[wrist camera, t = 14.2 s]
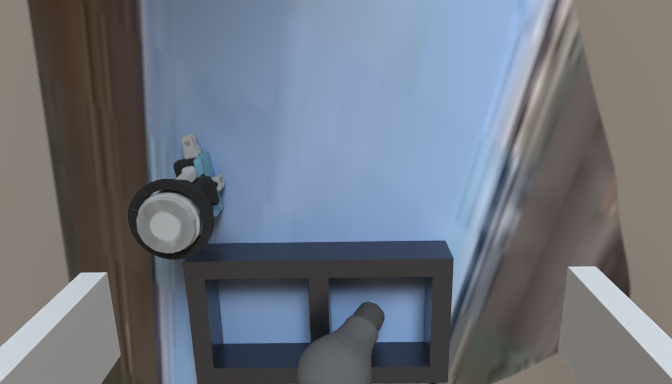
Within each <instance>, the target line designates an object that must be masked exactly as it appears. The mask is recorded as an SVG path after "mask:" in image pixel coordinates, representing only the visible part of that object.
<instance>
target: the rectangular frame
mask: <svg viewBox="0 0 672 384" xmlns="http://www.w3.org/2000/svg"><path fill="white" fill-rule="evenodd" d="M453 259H454V258H453V256H452V254H451V252H450V250H449V248H448V246H447V243H446V241H379V242H304V243H228V244H206V245H205V246H204V247H203V248H202V249H201V250H200V251H199V252H198V253H196V254H194V255H192V256H190V257H188V258H186V259H185V260H184V261H183V265H184V273H185V282H186V290H187V299H188V307H189V316H190V324H191V333H192V341H193V350H194V358H195V367H196V376H197V384H291V383H298V381H297V367H298V363H299V360H300V358H301V355H302V354H303V352H304V351H305V349H306V348H307V347H308V346H309V345H310V344H311V343H313V342H314V341H315V340H317V339H319V338H321V337H323V336H326V335H328V334H331V302H330V278H375V277H426V280H425V311H424V342H380V343H375V344H374V347H373V350H372V356H371V383H431V382H448V362H449V342H450V321H451V301H452V280H453ZM290 278H308V280H309V305H310V329H311V343H268V344H223V334H222V324H221V314H220V303H219V293H218V283H217V279H290Z"/></svg>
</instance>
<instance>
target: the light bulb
mask: <svg viewBox="0 0 672 384" xmlns="http://www.w3.org/2000/svg"><path fill="white" fill-rule="evenodd" d="M384 319H385V316H384V313H383V311H382V309H381V308H380V307H379V306H378V305H376V304H374V303H370V302H365V303H362V304H361V305H360V307H359V308H358V309H357V310H356V312H355V313H354V314H353V316H350V317H349V318H348V319H347V320H346V321H345V323H344V324H343V325H342V326H341V327H340V328H339V329H338V330H336V331H334V332H333V333H331V334H328V335H326V336H323V337H321V338H319V339H317V340H315V341H314V342H313V343H311V344H310V345H309V346H308V347H307V348H306V349H305V351H304V352H303V354H302V355H301V358H300V360H299V363H298V367H297V381H298V384H370V383H371V356H372V350H373V347H374V344H375V342H376V340H377V338H378V331H379V330H380V327H381V326H382V323H383V321H384Z"/></svg>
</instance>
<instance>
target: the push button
mask: <svg viewBox="0 0 672 384" xmlns="http://www.w3.org/2000/svg"><path fill="white" fill-rule="evenodd" d="M192 139H193V140H194V142H193V141H192ZM181 140H182V144H183V147H184V152H183V155H184V159H181V160H178V161H177V162H175V163H174V170H175V174H176V177H177V178H176V179H161V180H157V181H154V182H151V183H149V184H147V185H146V186H144V187H143V188H142V189H140V190H139V191H138V192H137V193H136V195H135V196H134V197H133V199H132V201H131V203H130V206H129V211H128V221H129V226H130V229H131V232H132V234H133V236H134V237H135V239H136V240H137V242H138V243H139V244H140V245H141V246H142V247H143V248H144V249H145V250H147V251H148V252H150V253H152V254H153V255H156V256H158V257H161V258H165V259H173V260H176V259H184V258H188V257H190V256H192V255H194V254H196V253H198V252H199V251H200V250H201V249H202V248H203V247H204V246H205V245H206V243H207V242H208V240H209V238H210V237H211V234H212V231H213V225H214V217H217V216H218V214H219V213H220V211H221V210H222V209H223V201H222V199H221V196H220V192H219V190H221V189H222V188H223V187H224V186H225V182H224V178H223V174H222V172H220V173H219V175H218V176H217V177H215V174H214V170H213V166H212V163H211V159H210V155H209V153H208V152H206V153H202V152H201V148H200V147H198V144H197V141H196V137H195V134H194V133H193V134H187V135H185V137H182V138H181ZM185 141H186V143H187V145H186V144H185ZM189 141H190V142H189ZM221 178H222V181H221ZM159 190H161V191H160V192H159V193H158V194H155V195H153V196H151V197H149V196H150V195H151V193H153V192H156V191H159ZM202 223H203V229H202V233H201V235H200V236H198V234H199V231H200V226H201V225H202ZM197 236H198V237H197Z"/></svg>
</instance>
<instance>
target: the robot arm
mask: <svg viewBox="0 0 672 384" xmlns="http://www.w3.org/2000/svg"><path fill="white" fill-rule="evenodd" d="M558 352H559V354H560V355H561V357H562V358H563V360H564V361H565V363H566V364H567V366H568V368H569V369H570V371H571V372H572V374H573V375H574V377H575V378H576V380H577V381H578V383H579V384H672V339H671V338H670V337H669V336H668V335H667V334H665V332H664V331H662V330H661V329H660V328H659V327H658V326H657V325H656V324H655V323H654V322H653V321H652V320H651V319H650V318H649V317H648V316H647V315H646V314H645V313H644V312H643V311H641V310H640V309H639V308H638V307H637V306H636V305H635V304H634V303H633V302H632V301H631V300H630V299H629V298H628V297H627V296H626V295H625V294H624V293H623V292H622V291H621V290H620V289H619V288H618V287H616V286H615V285H614V284H613V283H612V282H611V281H610V280H609V279H608V278H607V277H606V276H605V275H604V274H603V273H602V272H601V271H600V270H599V269H598V268H597V267H568V272H567V281H566V289H565V297H564V306H563V314H562V322H561V331H560V339H559V348H558ZM120 356H121V354H120V348H119V342H118V336H117V330H116V324H115V318H114V312H113V305H112V299H111V293H110V287H109V281H108V275H107V272H101V273H80V274H79V275H78V276H77V277H76V278H74V279H73V280H72V281H71V282H70V283H69V284H68V285H67V286H66V287H65V288H64V289H63V290H62V291H61V292H59V293H58V294H57V295H56V296H55V297H54V298H53V299H52V300H51V301H50V302H49V303H48V304H46V305H45V306H44V307H43V308H42V309H41V310H40V311H39V312H38V313H37V314H36V315H35V316H33V317H32V318H31V319H30V320H29V321H28V322H27V323H26V324H25V325H24V326H23V327H22V328H21V329H20V330H18V331H17V332H16V333H15V334H14V335H13V336H12V337H11V338H10V339H9V340H8V341H6V343H4V344H3V345H2V346H1V347H0V384H101V383H102V382H103V380H104V379H105V377H106V376H107V374H108V373H109V372H110V370H111V369H112V367H113V366H114V364H115V363H116V361H117V360H118V358H119V357H120Z"/></svg>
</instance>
